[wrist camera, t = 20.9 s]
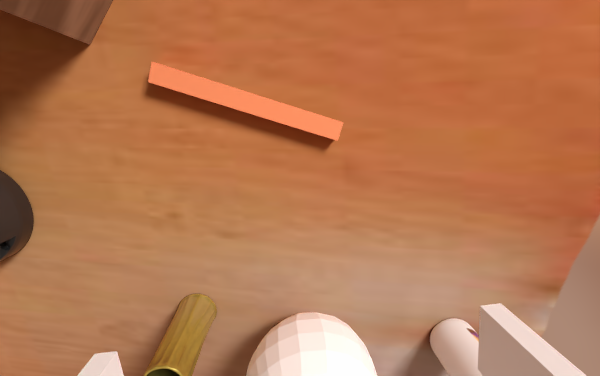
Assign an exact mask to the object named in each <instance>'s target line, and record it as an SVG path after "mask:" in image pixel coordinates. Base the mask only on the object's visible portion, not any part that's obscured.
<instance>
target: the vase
mask: <svg viewBox="0 0 600 376" xmlns="http://www.w3.org/2000/svg"><path fill="white" fill-rule="evenodd" d="M216 313H217V309H216V306H215V304H214V302H213V301H212V300H211V299H210V298H209V297H207V296H205V295H202V294H192V295H189V296H187V297H185V298H184V299H183V300H182V301H181V302H180V304H179V307H178V310H177V312H176V314H175V316H174V318H173V320H172V322H171V324H170V325H169V327H168V330H167V332H166V333H165V335H164V337H163V339H162V341H161V343H160V345H159V347H158V349H157V351H156V353H155V355H154V357H153V359H152V361H151V362H150V364H149V366H148V368H147V370H146V371H145V373H144V375H143V376H192V374H193V371H194V368H195V365H196V362H197V360H198V357H199V354H200V351H201V348H202V345H203V342H204V340H205V338H206V335H207V333H208V330H209V328H210V326H211V324H212V322H213V320H214V319H215V317H216Z"/></svg>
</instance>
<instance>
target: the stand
mask: <svg viewBox="0 0 600 376" xmlns="http://www.w3.org/2000/svg"><path fill="white" fill-rule="evenodd" d="M112 1H113V0H0V10H2V11H5V12H7V13H10V14H12V15H15V16H18V17H20V18H23V19H25V20H28V21H30V22H33V23H35V24H38V25H41V26H43V27H46V28H48V29H51V30H53V31H56V32H58V33H61V34H64V35H66V36H69V37H71V38H74V39H76V40H79V41H82V42H84V43H87V44H89V45H90V44H91V42H92V40H93V38H94V36H95V34H96V32H97V30H98V28H99V26H100V24H101V22H102V20H103V19H104V17H105V15H106V13H107V11H108V9H109V7H110V5H111V3H112Z"/></svg>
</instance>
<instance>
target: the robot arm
mask: <svg viewBox="0 0 600 376" xmlns="http://www.w3.org/2000/svg"><path fill="white" fill-rule="evenodd" d="M32 229H33V213H32V208H31V205H30V202H29V200H28V198H27V196H26V195H25V193H24V191H23V190H22V189H21V187H20V186H19V185H18V184H17V183H16V182H15V181H14V180H13V179H12V178H11V177H9V176H8V175H7V174H5V173H4V172H2V171H1V170H0V261H2V260H4V259H6V258H8V257H10V256H12V255H14V254H16V253H17V252H18V251H20V250H21V249H22V248H23V247H24V246H25V244H26V243H27V242H28V240H29V238H30V236H31V233H32ZM478 370H479V371H480V372H481V374H482V375H483V376H586V375H585V374H584V373H583V372H581V371H580V370H579V369H578V368H577V367H575V366H574V365H573V364H572V363H571V362H569V361H568V360H567V359H566V358H565V357H563V356H562V355H561V354H560V353H559V352H557V351H556V350H555V349H554V348H553V347H552V346H550V345H549V344H548V343H547V342H546V341H545V340H543V339H542V338H541V337H540V336H539V335H537V334H536V333H535V332H534V331H533V330H532V329H530V328H529V327H528V326H527V325H526V324H524V323H523V322H522V321H521V320H520V319H518V318H517V317H516V316H515V315H514V314H513V313H511V312H510V311H509V310H508V309H507V308H505V307H504V306H503V305H502V304H501V303H500V304H492V305H484V306H480V322H479V347H478ZM77 376H124V375H123V371H122V368H121V364H120V360H119V357H118V353H117V351H115V352H107V353H99V354H94V356H93V357H92V358H91V359H90V361H89V362H88V363H87V364H86V366H85V367H84V368H83V369H82V371H81V372H80V373H79V374H78V375H77Z"/></svg>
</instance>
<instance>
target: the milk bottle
mask: <svg viewBox="0 0 600 376" xmlns="http://www.w3.org/2000/svg"><path fill="white" fill-rule="evenodd" d="M430 345H431V348H432V350H433V351H434V353H435V354H436V356H437V358H438V359H439V361H440V362H441V364H442V365H443V367H444V368H445V370H446V371H447V373H448V374H449V376H483V375H482V374H481V372H480V371H479V370H478V347H479V335H478V333H477V332H476V331H475V330H474V329H473V328H472V327H471V326H470V325H469V324H468V323H467V322H465V321H463V320H461V319H457V318H450V319H446V320H443V321H441V322H440V323H438V324H437V325H436V326H435V327H434V328H433V330H432V332H431V335H430Z"/></svg>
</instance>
